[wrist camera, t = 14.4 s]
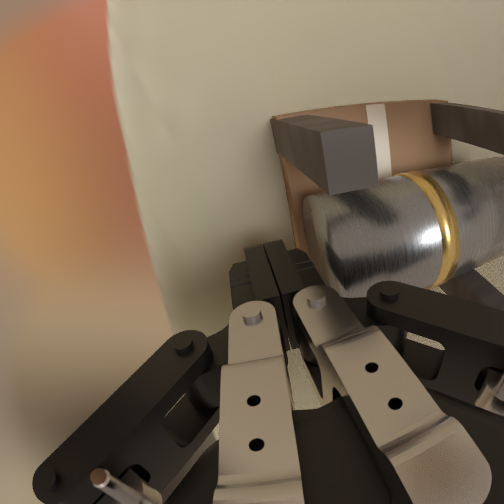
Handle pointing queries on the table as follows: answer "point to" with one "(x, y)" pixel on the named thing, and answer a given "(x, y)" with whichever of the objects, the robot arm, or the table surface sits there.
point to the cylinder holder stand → (381, 157)
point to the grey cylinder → (408, 227)
